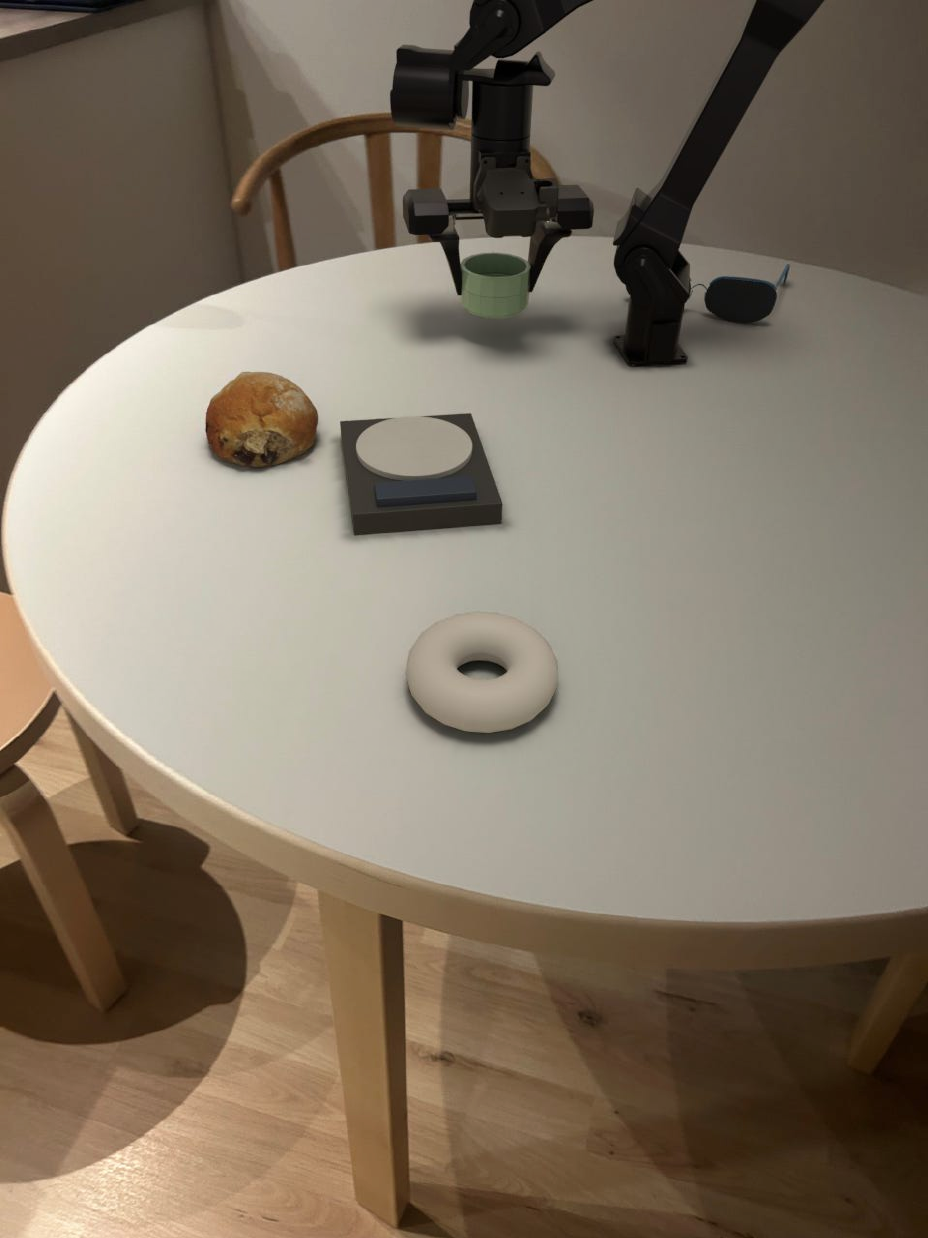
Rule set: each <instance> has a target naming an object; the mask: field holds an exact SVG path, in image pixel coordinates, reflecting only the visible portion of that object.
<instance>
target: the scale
mask: <svg viewBox="0 0 928 1238" xmlns="http://www.w3.org/2000/svg"><path fill="white" fill-rule="evenodd" d="M339 425H340V426H339V427H340V440H341V448H342V455H343V463H344V464H343V465H344V470H345V477H346V485H347V493H348V501H349V507H350V515H351V524H352V530H353V535H354V536H356V535H367V534H382V533H395V532H405V531H408V532H409V531H419V530H420V531H421V530H433V529H445V528H457V527H458V528H459V527H471V526H483V525H484V526H485V525H498V524H499V525H500V524H502V519H503V518H502V517H503V501H502V498H501V495H500V492H499V489H498V487H497V483H496V480H495V478H494V475H493V472H492V469H491V466H490V464H489V460H488V458H487V454H486V452H485V449H484V447H483V443H482V442H481V438H480V435H479V432H478V429H477V426H476V423H475V421H474V418H473V415H472V413H471V412H468V413H467V412H465V413H452V414H451V413H450V414H437V415H436V414H435V415H416V416H415V415H414V416H412V415H409V416H399V417H386V418H370V419H369V418H368V419H352V420H351V419H350V420H340V421H339Z"/></svg>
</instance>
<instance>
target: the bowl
mask: <svg viewBox="0 0 928 1238" xmlns="http://www.w3.org/2000/svg"><path fill="white" fill-rule="evenodd" d="M460 265H461V276H462V294H461V295H459V303H460V306H461V307H462V308H464V309H465V310H466V311H467V312H468V313H469V314H470V315H473V316H476V317H479V318H482V319H483V318H484V319H497V320H498V319H508V318H511V317H512V318H513V317H515V316H517V315H519V314H520V313H521V312H522V311H524V310H525V309H527V308H528V305H529V300H530V292H529V287H530V272H531V266H530V264H529V262H528V260H526V259H524V258H523V257H521V256H518V255H514V254H511V253H503V252H480V253H477V254H471V255H469V256H467V257H465V258H463V259H462V260H461V261H460Z"/></svg>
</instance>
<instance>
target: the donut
mask: <svg viewBox="0 0 928 1238" xmlns="http://www.w3.org/2000/svg"><path fill="white" fill-rule="evenodd" d="M474 661H475V662H476V661H482V662H483V661H484V662H491V663H494V664H497V665H499V666H501V667H502V668H504V669H505V671H506V672H505V673H504V674H503V675H501V676H498V677H495V678H490V679H479V678H473V677H470V676H466V675H465V674H463V673H462V672H460V671H459V670H458V668H460V667H461V666H462V665H465V664H466V663H469V662H474ZM404 672H405V673H404V674H405V677H406V681H407V684H408V688H409V691H410V695H411V697H412V698H413V699H414V701H416V702H417V703H418V705H419V706H420V707H421V709H422V710H423V711H424V713H425V714H426V715H428V716H430V717H431V718H433V719H434V720H436V721H438V722H439V723H441V724H442V725H445V726H447V727H450V728H454V729H456V730H461V731H463V732H470V733H471V732H472V733H482V734H483V733H485V734H491V733H496V732H502V731H503V732H504V731H508V730H509V731H510V730H513V729H515V728H518V727H519V726H521V725H524V724H526V723H528V722H531V721H532V720H533V719H534V718H535V717H536V716H538V714H540V713H541V712H542V711H543V710H544V709H545V708H546V707H547V706H548V705H549V704H550V703H551V700H552V698H553V696H554V694H555V692H556V690H557V687H558V684H559V665H558V659H557V657H556V655H555V652H554V651H553V648H552V646H551V644H550V643H549V641H548V640H547V639H546V637H544V636H543V635H542V633H540V632H539V631H538V630H537V629H536V628H535V627H533V626H531V625H529V624H528V623H526V622H524V621H522V620H520V619H519V618H516V617H514V616H510V615H507V614H504V613H500V612H492V611H478V610H477V611H469V612H462V613H455V614H453V615H450V616H448V617H446V618H443V619H440V620H438V621H436V622H434V623H433V624H431V625H430V626H429V627H428V628H426V629H425V630H423V631H422V632H421V633H420V634H419V635H418V637H417V639H416V640H415V641H414V643H413V645H412V646H411V648H410V649H409V650H408V655H407V660H406V667H405V671H404Z"/></svg>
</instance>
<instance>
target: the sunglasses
mask: <svg viewBox="0 0 928 1238" xmlns="http://www.w3.org/2000/svg"><path fill="white" fill-rule="evenodd" d="M790 268H791V265H790V264H789V263H788V264H786V265H785V266H784V269H783V270H782V273H781V274H780V277H779V278H778V281H777V283H776V285H775V284H774V283H773V282H770V281H768V280H763V279H758V278H751V277H742V276H729V275H727V276H726V275H724V276H722V275H721V276H718V277H716V278H714V279H712V280H711V281H710V282H709V286H708V287H706V285H704V284H703V283H697V284H695V285H693V286H692V284H691V282H692V279H691V277H690V280H689V297H688V299H687V301H686V302H685V304H687V302H688V300H690V299H691V297H692V295H693V292H694V288H696V287H698V286H702V287H703V288H704V289H705V292H704V293H703V302H704V305H705V308H706V310H707V311H708V312H710V313H711V314H712V315H714V316H716V317H717V318H719V319H721V320H723V321H726V322H730V323H736V324H751V323H756V322H759V321H762V320H764V319H766V318H767V317H768V316H769V315H770V314H771V313H772V312H773V310H774V307H775V305H776V302H777V298H778V293H777V290H779V289H778V287H779V286H780V284H781V282H782V281H783V283H782V285H784V286H785V285H786V282H787V278H788V275H789V271H790ZM625 290H626V292H627V294H628V295H629V296H630V292H629V287H627V286H626V285H625Z"/></svg>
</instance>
